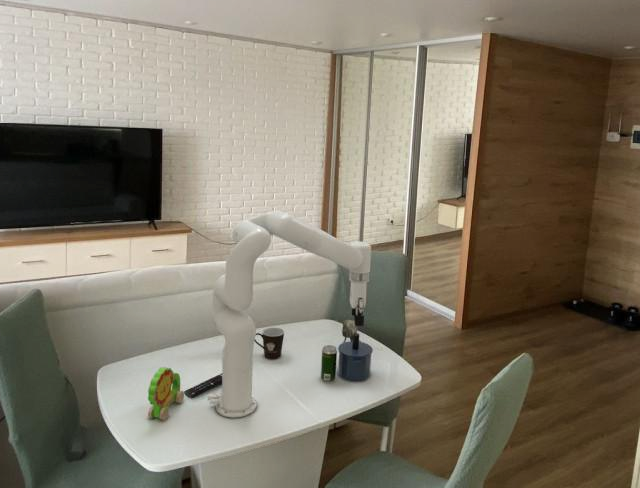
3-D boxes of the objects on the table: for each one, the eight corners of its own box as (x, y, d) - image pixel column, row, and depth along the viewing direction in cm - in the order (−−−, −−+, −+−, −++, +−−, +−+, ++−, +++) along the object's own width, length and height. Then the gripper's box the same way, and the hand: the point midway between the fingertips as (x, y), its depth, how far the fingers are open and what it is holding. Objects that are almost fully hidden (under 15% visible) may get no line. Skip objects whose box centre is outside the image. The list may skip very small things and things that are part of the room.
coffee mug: (287, 355, 208) (288, 331, 207) (273, 363, 201) (274, 338, 200) (265, 347, 215) (266, 324, 213) (251, 354, 207) (251, 330, 206)
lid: (339, 359, 188) (340, 341, 187) (336, 344, 200) (337, 327, 199) (374, 359, 189) (375, 341, 188) (369, 344, 202) (370, 327, 201)
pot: (340, 385, 187) (341, 360, 186) (336, 363, 204) (337, 340, 202) (372, 385, 188) (374, 360, 187) (366, 363, 205) (367, 340, 204)
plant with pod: (335, 345, 219) (338, 300, 217) (359, 341, 225) (361, 296, 223) (345, 353, 212) (347, 306, 210) (368, 348, 218) (371, 302, 216)
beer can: (335, 383, 188) (337, 351, 187) (320, 382, 188) (322, 351, 186) (335, 376, 194) (337, 345, 192) (320, 375, 193) (322, 344, 192)
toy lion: (169, 397, 173) (170, 354, 171) (185, 399, 172) (185, 356, 170) (142, 424, 158) (142, 376, 156) (159, 427, 157) (159, 379, 155)
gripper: (347, 268, 199) (345, 311, 201) (352, 283, 182) (349, 329, 184) (366, 269, 200) (364, 311, 202) (373, 283, 183) (370, 329, 185)
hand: (357, 320), depth 193 cm, fingers open, 9 cm apart
